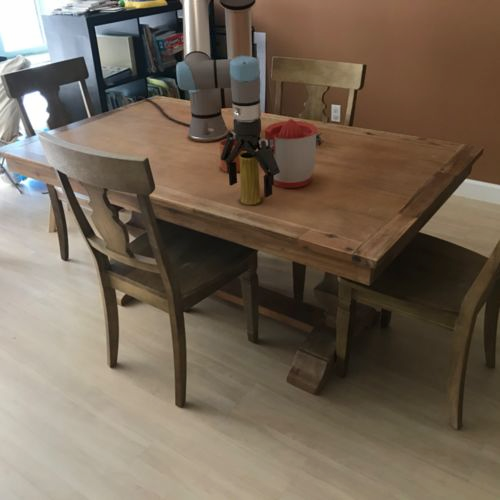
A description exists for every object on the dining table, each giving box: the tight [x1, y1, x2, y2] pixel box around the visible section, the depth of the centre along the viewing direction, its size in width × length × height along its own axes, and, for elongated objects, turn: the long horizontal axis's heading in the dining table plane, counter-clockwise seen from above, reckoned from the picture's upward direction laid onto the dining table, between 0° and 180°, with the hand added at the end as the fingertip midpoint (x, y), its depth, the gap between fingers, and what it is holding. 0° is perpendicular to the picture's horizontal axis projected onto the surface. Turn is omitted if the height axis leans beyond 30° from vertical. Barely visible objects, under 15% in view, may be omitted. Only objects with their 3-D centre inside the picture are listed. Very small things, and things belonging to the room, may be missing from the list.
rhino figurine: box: [316, 131, 325, 146], centre depth 188 cm, size 4×14×6 cm, turn 37°
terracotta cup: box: [219, 138, 245, 173], centre depth 171 cm, size 8×8×9 cm
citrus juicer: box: [264, 118, 318, 189], centre depth 157 cm, size 16×17×20 cm
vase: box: [239, 151, 262, 206], centre depth 148 cm, size 6×6×14 cm
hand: (250, 189), depth 150 cm, fingers open, 13 cm apart
